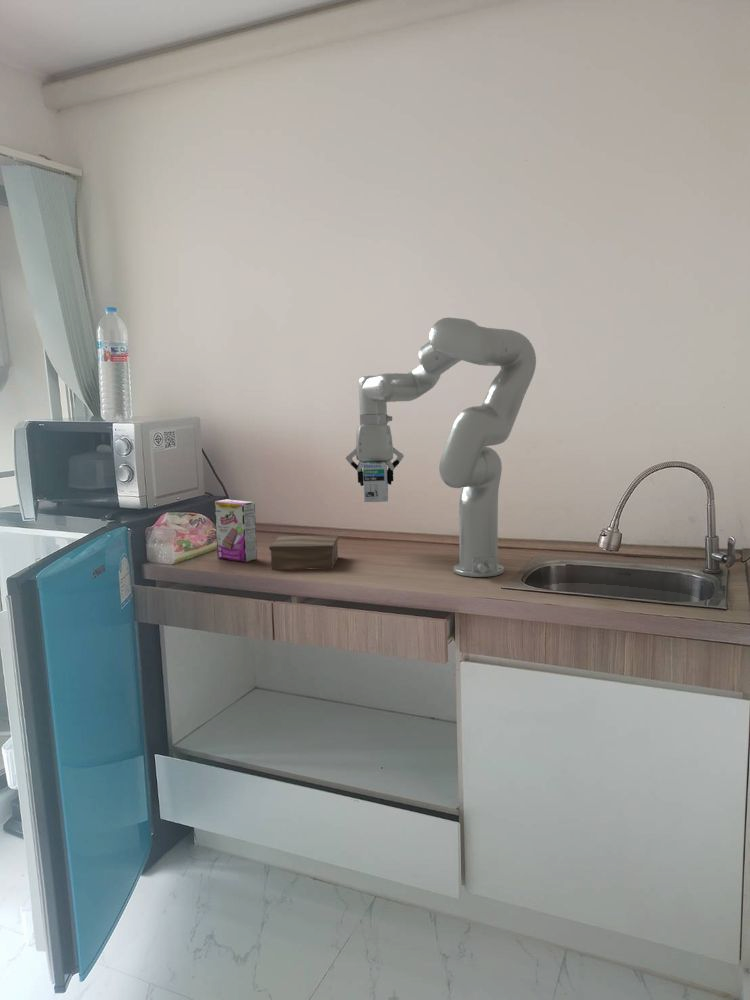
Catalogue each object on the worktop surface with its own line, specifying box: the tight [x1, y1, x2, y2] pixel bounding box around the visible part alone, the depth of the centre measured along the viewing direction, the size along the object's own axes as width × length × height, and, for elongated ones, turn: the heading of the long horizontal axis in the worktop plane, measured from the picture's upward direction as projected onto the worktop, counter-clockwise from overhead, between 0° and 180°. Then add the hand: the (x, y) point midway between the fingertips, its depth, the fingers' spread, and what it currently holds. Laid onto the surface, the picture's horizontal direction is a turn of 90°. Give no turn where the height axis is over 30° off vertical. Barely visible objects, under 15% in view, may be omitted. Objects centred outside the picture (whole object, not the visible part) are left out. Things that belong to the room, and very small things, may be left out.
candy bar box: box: [214, 498, 258, 563], centre depth 204 cm, size 11×5×16 cm, turn 57°
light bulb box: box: [362, 461, 389, 503], centre depth 204 cm, size 11×7×11 cm, turn 179°
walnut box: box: [269, 534, 339, 570], centre depth 198 cm, size 15×17×6 cm
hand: (375, 484), depth 204 cm, fingers closed on light bulb box, 7 cm apart
